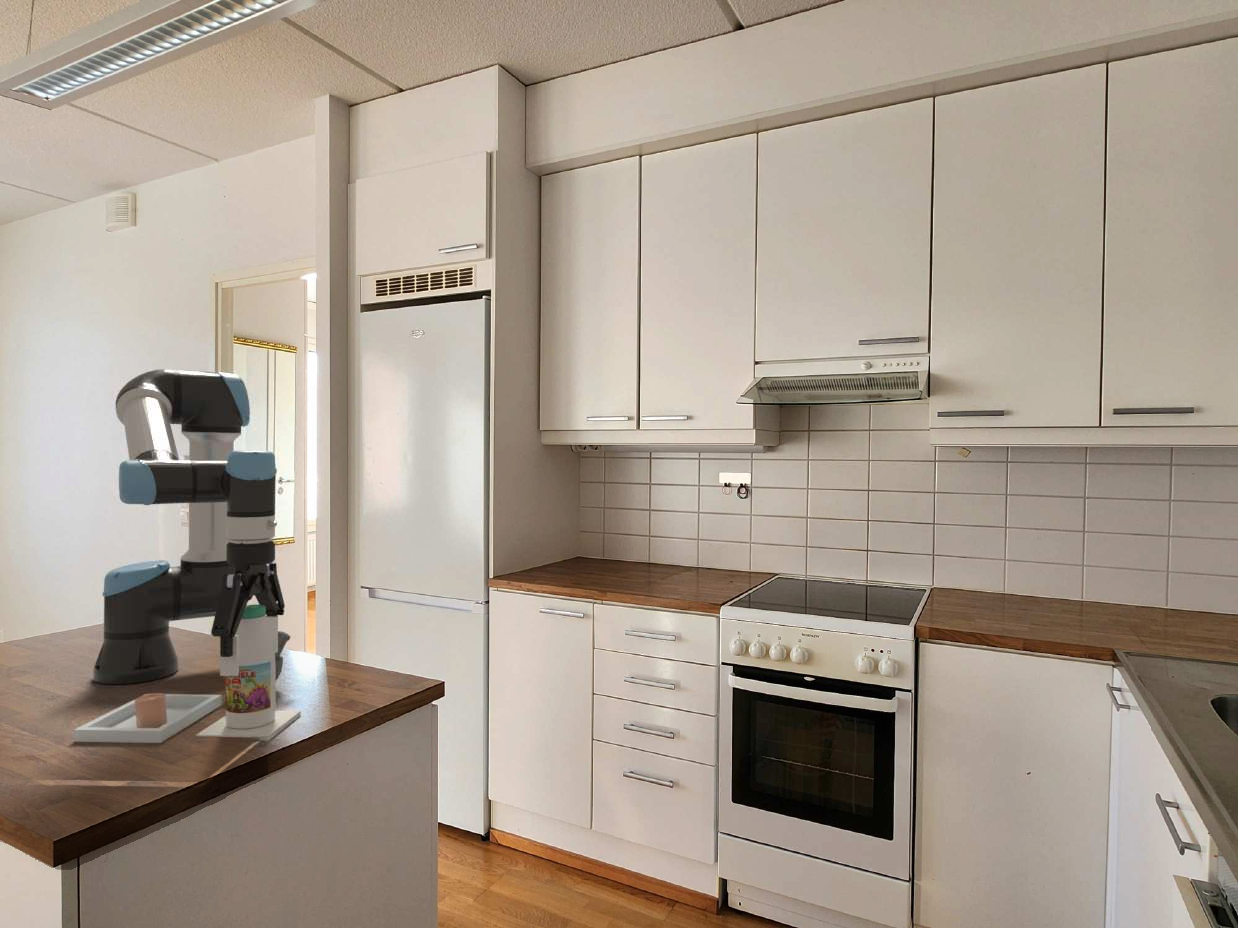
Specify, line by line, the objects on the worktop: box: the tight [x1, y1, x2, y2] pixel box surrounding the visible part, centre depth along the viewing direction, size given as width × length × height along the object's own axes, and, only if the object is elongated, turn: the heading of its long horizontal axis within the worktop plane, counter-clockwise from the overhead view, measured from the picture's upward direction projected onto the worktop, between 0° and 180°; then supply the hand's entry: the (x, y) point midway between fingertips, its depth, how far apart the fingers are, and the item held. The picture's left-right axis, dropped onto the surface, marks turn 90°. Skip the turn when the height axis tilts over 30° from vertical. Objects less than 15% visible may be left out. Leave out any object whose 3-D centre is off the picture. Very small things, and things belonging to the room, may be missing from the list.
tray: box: [73, 693, 223, 744], centre depth 129 cm, size 18×14×2 cm
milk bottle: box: [225, 604, 277, 729], centre depth 129 cm, size 8×8×20 cm
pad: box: [195, 710, 302, 742], centre depth 129 cm, size 12×12×1 cm
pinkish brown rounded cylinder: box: [134, 692, 167, 728], centre depth 126 cm, size 4×4×5 cm
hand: (250, 663), depth 129 cm, fingers open, 13 cm apart
